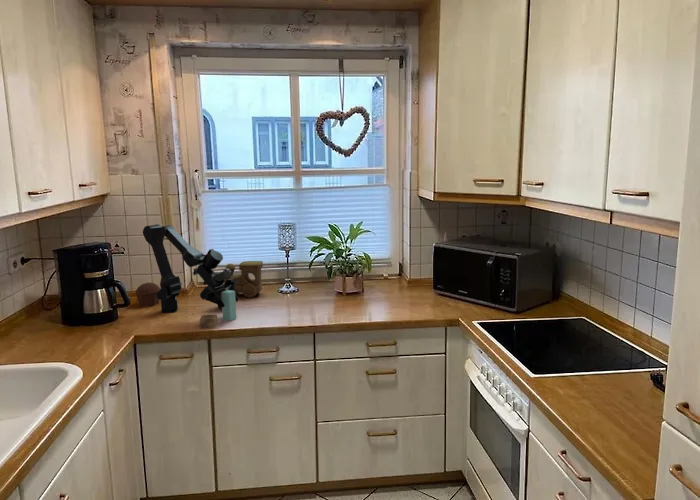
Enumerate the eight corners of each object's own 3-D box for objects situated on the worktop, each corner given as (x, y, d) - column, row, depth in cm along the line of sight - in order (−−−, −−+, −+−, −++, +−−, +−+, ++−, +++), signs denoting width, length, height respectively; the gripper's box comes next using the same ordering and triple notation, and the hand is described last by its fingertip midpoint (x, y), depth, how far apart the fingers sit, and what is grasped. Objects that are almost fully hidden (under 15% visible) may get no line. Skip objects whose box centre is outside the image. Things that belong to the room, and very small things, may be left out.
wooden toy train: (264, 292, 269) (263, 260, 266) (260, 298, 258) (258, 264, 255) (225, 292, 270) (224, 260, 267) (219, 298, 259) (217, 265, 256)
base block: (200, 329, 213) (199, 319, 212) (202, 324, 219) (202, 315, 218) (215, 328, 213) (214, 318, 213) (217, 323, 219) (217, 314, 219)
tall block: (222, 319, 224) (221, 292, 222) (228, 317, 227) (227, 290, 225) (230, 321, 222) (229, 293, 220) (236, 318, 226) (235, 290, 224)
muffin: (156, 307, 244) (154, 286, 243) (132, 307, 244) (130, 286, 243) (165, 300, 256) (163, 280, 254) (142, 301, 256) (141, 280, 255)
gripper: (203, 267, 214) (227, 297, 211) (232, 259, 231) (254, 286, 228) (189, 285, 219) (212, 314, 216) (219, 276, 235) (240, 302, 233)
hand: (231, 303), depth 223 cm, fingers open, 9 cm apart
